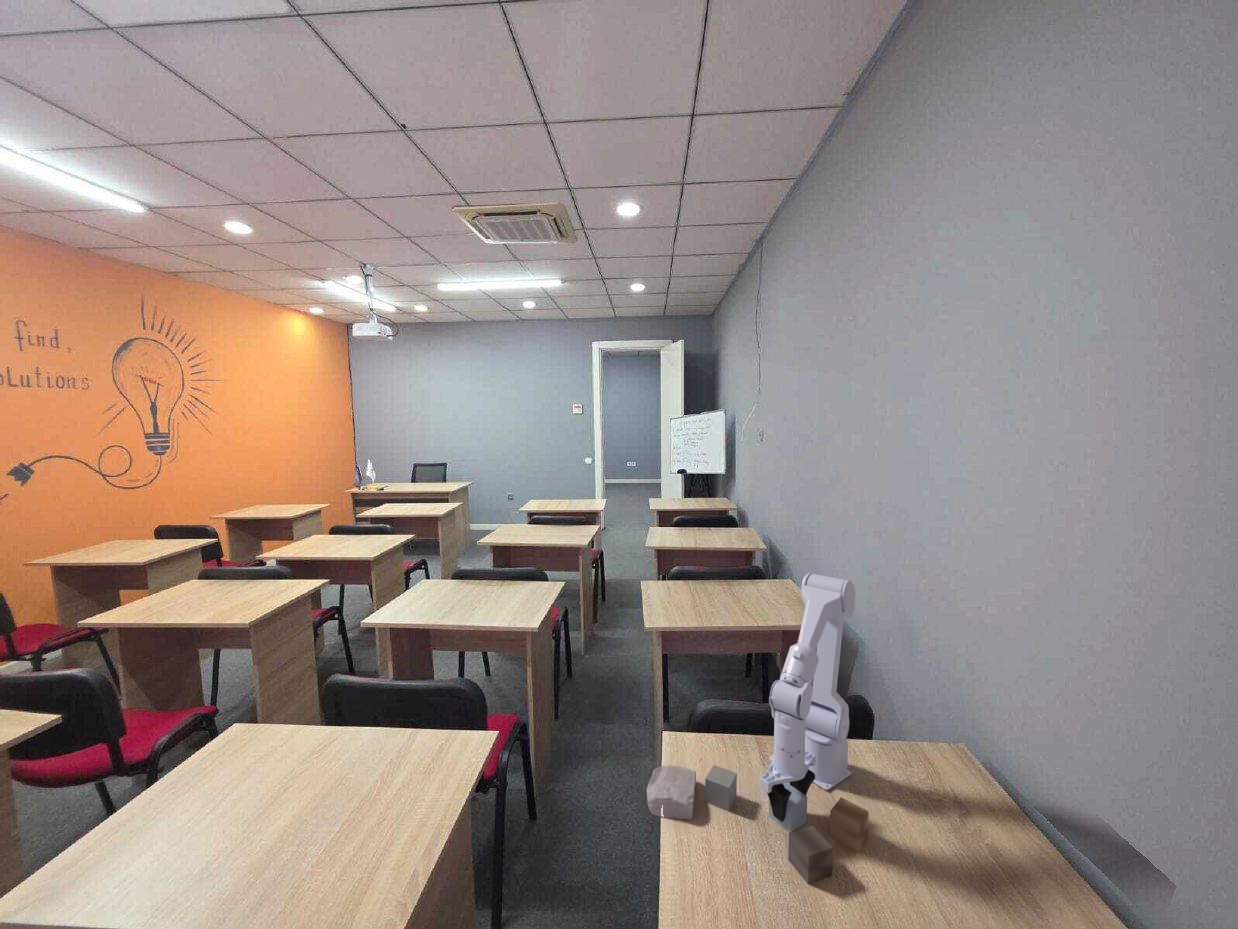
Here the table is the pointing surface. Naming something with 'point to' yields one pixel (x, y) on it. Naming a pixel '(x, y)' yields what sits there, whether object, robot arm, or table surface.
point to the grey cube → (720, 787)
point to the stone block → (672, 792)
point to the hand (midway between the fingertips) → (787, 811)
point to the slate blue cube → (793, 810)
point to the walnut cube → (849, 824)
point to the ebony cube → (810, 854)
